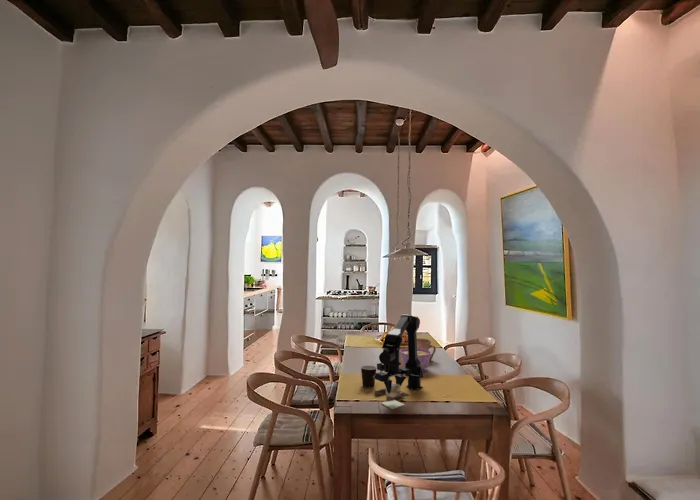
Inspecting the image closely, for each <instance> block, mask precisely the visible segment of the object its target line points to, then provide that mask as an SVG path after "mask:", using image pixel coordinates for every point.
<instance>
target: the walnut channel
mask: <svg viewBox="0 0 700 500" xmlns="http://www.w3.org/2000/svg"><path fill="white" fill-rule="evenodd" d="M403 392H404V391H402V392H400V396H396V397H393V398H392V397H390V396H388V395H386V387H383V388H382V387H381V388H377V389H374V392H373V393H374V396H376V397H377V396H382V395H386V397H385V399H386V401H390V400H396V401H397V400H400V399H403V398H404V396H403ZM386 401H385V402H386Z"/></svg>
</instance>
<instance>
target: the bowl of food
mask: <svg viewBox="0 0 700 500" xmlns="http://www.w3.org/2000/svg"><path fill="white" fill-rule="evenodd" d="M431 355H432V352H431V350H429V349H428V350H426V349H420V348H417V358H418V359H419V361H420V363H421V367H422V370H423V371H424V370H425V369H427V368H428V367H429V364H430V361H431V360H430V356H431ZM399 356H400V359H401V365H403V368H405V366H406V365H405V364H406V362H407V361H408V359H409V356H408V347H407V348H400V349H399ZM429 360H430V361H429Z"/></svg>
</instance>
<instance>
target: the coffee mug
mask: <svg viewBox="0 0 700 500" xmlns="http://www.w3.org/2000/svg"><path fill="white" fill-rule="evenodd" d="M360 371H361V381H362V382H361V383H362V387H364V388H370V389H371V388H374V387H375V383H376V379H375V374H376V373H377V366H374V365H368V364H367V365H362V366H360Z"/></svg>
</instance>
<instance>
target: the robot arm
mask: <svg viewBox="0 0 700 500" xmlns="http://www.w3.org/2000/svg"><path fill="white" fill-rule="evenodd" d="M420 325H421V320H420V318H419V316H414V315H411V314H407V313H406V314H405V313H403V314H401V315H400V318H399V320H398V322H397V323H396V325H395V327H394V328H393V329H391V330H389V331H388V333H387V334H386V335H385V336H384V340H383V343H382V349H383V350H382V352H381V353H380V354H379V356H378V360H379V362H380V363H376V371H380V372H376V374H375V381H380V382H383V383H384V386H385V388H386V389H387V392H388V393H389V394H390V391H391V385H392V382H393V380H391V378H392V377H394V378H395V383H397V384H399V385H400V388H401V386H402V385H403V383H404V381H405V380H406V379H407V377H408V379H407V385H406V388H408V389H411V390H413V391H415V390H419V389H423V386H422V385H421V384H422V383H421V378H422V379H423V378H424V373H425V372H424V369H423V370H422V367H421V363H420V361H419V359H418V358H417V339H418V338H417V337H418V335H417V334H418V333H417V332H418V330H419V328H420ZM405 332H406V333H407V346H408V347H407V348H408V356H409V359H408V361H407V362H406V364H405V365H406V366H405V367H400V366H401V365H402V361H401V362H400V350H401V346H402V344H403V334H404V333H405Z"/></svg>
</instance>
